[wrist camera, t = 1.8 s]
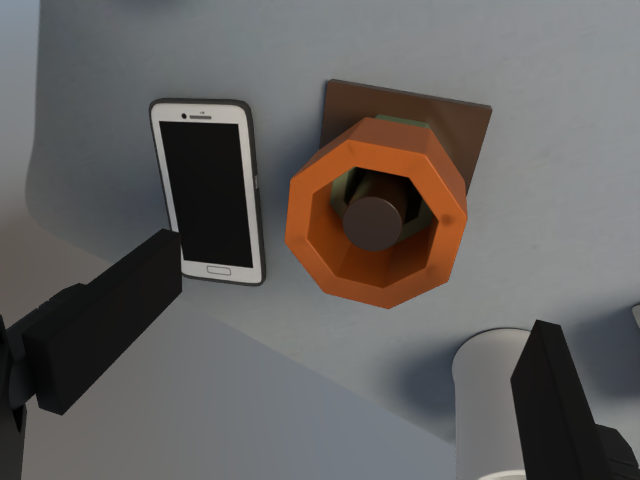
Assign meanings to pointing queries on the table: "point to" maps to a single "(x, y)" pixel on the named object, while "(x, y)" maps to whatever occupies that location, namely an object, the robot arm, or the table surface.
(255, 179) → the cell phone
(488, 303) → the table surface
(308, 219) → the orange ring
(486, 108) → the peg stand
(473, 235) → the table surface
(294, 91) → the table surface
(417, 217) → the sage ring
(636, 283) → the table surface
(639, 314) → the ink box
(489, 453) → the mug
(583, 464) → the robot arm
